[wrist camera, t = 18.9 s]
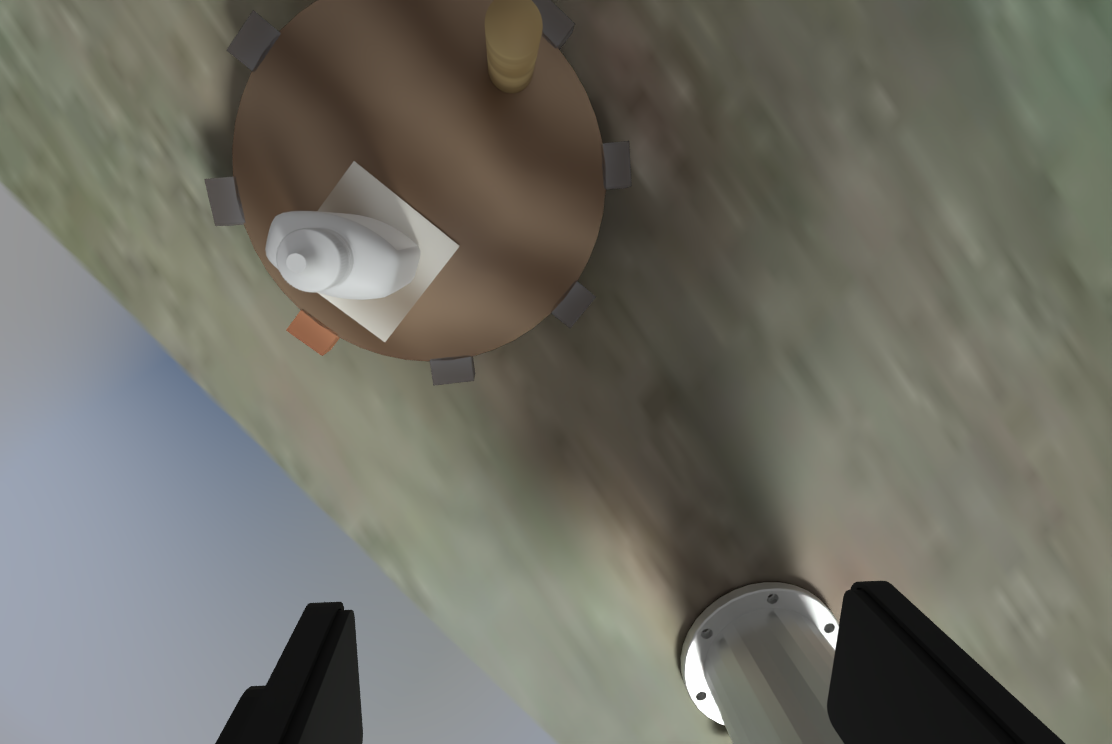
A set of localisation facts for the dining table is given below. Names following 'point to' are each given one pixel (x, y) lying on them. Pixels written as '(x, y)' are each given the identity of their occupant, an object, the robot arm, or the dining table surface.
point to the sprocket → (427, 165)
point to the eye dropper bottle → (341, 254)
